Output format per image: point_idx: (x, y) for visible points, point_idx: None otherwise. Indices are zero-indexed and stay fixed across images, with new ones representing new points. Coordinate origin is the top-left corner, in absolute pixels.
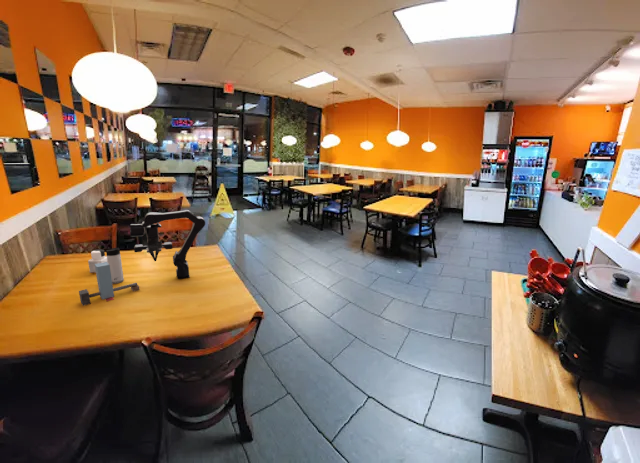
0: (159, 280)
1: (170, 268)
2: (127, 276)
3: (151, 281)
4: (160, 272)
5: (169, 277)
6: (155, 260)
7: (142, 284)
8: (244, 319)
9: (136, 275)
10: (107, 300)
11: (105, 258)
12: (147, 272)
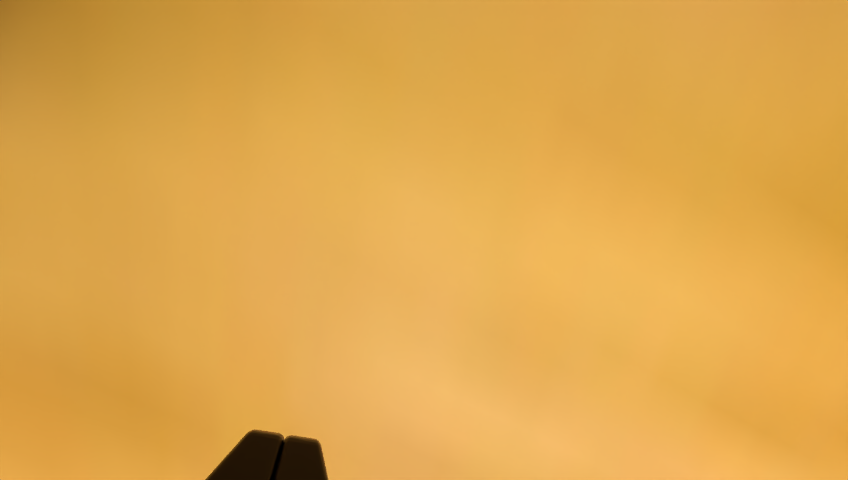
0: (339, 33)
1: (118, 457)
2: (777, 475)
3: (502, 70)
4: (283, 390)
5: (126, 88)
6: (265, 455)
7: (710, 2)
8: None
9: (652, 450)
10: None
11: None
12: (474, 475)
